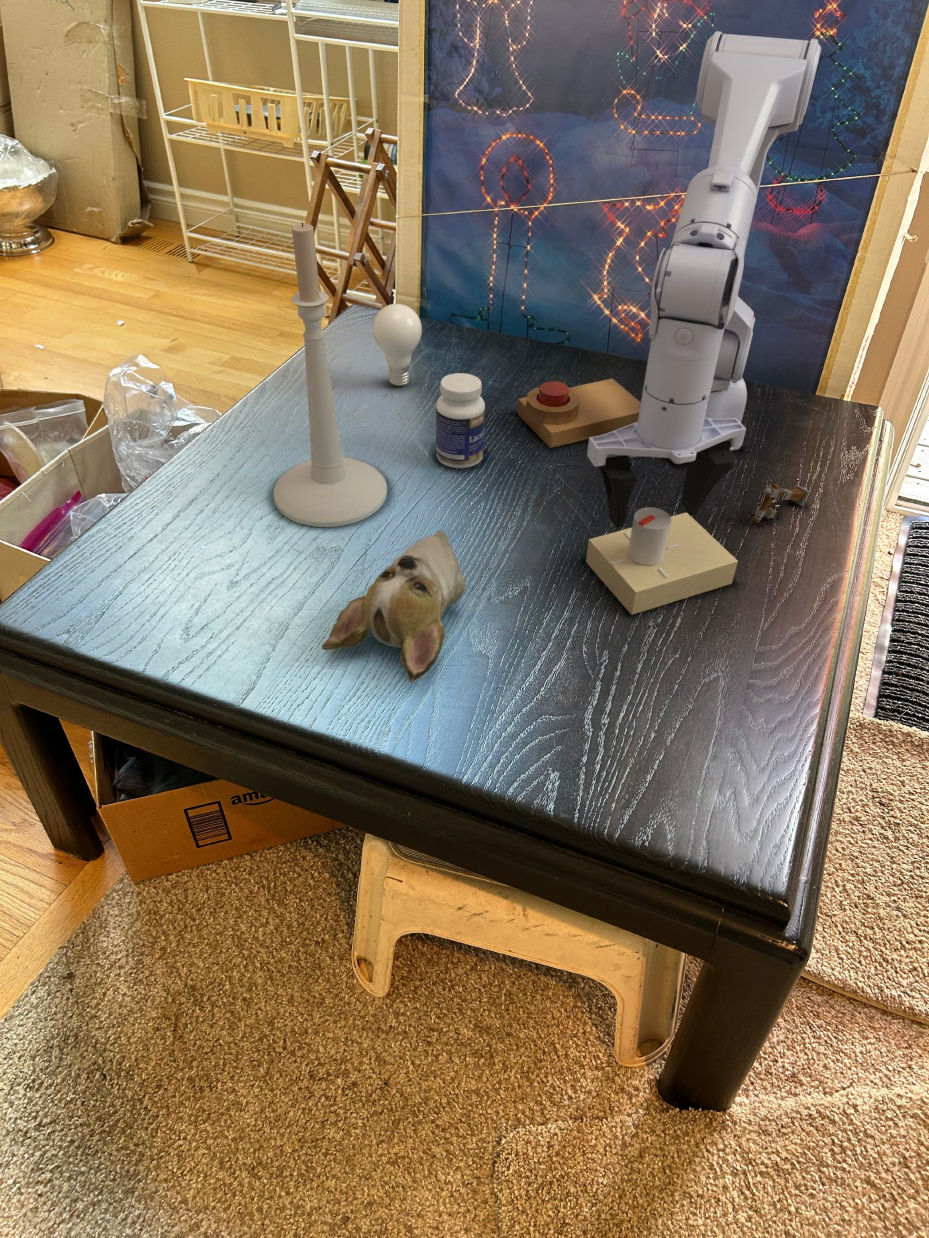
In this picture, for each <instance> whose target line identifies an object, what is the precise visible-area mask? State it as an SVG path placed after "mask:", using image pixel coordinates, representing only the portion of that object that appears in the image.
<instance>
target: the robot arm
mask: <svg viewBox="0 0 929 1238" xmlns="http://www.w3.org/2000/svg"><path fill="white" fill-rule="evenodd" d="M821 53H822V47H821V45H820V43H819V40H818V39H817V38H811V39H810V41H809V40H806V39H793V38H781V37H769V36H755V35H744V34H732V33H723V32H722V31H719V30H717V31H715V32H714V33H713V34H712V35H711V36H710V37H709V38H708V40H707V41H706V45H705V47H704V51H703V56H702V60H701V65H700V69H699V76H698V80H697V87H696V99H695V100H696V105H697V108H698V109H699V112H700V115H701V118H702V121H703V122H705V123H707V124H709V125H711V126H713V127H714V131H713V132H714V134H713V138H712V142H711V143H712V144H711V148H710V149H711V150H710V155H709V160H708V166H707V168H705V169H703V170H701V171H699V172H697V174H695V176H693V178H692V179H691V180H690V182H689V184H688V186H687V190H686V193H685V196H684V199H683V202H682V207H681V209H680V213H679V216H678V220H677V222H676V223H677V224H676V227H675V230H674V234H673V237H672V240H671V243H670V247H669V249H667V248H666V247H663V248H662V250H661V252H660V253H659V254H660V255H659V257H658V259H657V263H656V266H655V271H654V274H653V279H652V285H651V290H650V291H651V292H650V321H649V328H648V339H650V343H649V344H650V345H649V351H648V357H647V363H646V364H647V365H646V368H645V369H646V370H645V375H644V381H643V387H642V392H641V393H642V394H641V400H640V402H641V405H640V411H639V418H638V422H635V423H632V424H630V425H627V426H625V427H622V428H620V429H617V430H614V431H612V432H609V433H606V434H603V435H599V436H594V437H589V439H588V443H587V452H586V457H587V458H588V459H589V461H590V463H592V465H593V467H595V468H597V467H598V469H599V472H600V475H601V478H602V481H603V484H604V488H605V494H606V500H607V508H608V517H609V519H610V521H611V522H612V525H614V527H615V528H617V529H618V528H623V527H624V526H625V522H626V519H627V513H628V512H627V511H628V506H629V501H630V497H631V494H632V492H633V490H634V487H635V486H636V484H637V482H638V480H639V478H638V476H637V475H636V474H635V472H634V471H633V470H632V463H631V462H630V458H638V457H643V458H644V457H645V458H660V459H669V460H670V461H671V462H672V463H673V464H675V465H682V464H686V463H687V465H686V473H685V479H684V484H683V489H682V493H681V506H682V508H683V509H684V510H685V511H686V512H687V513H688V514H689V515H690V516H691V517H695V516H697V515H698V513H699V512H700V509H701V508H702V506H703V503H705V500H706V499H707V497H708V496H709V494H710V493H711V492H712V490H713V488H714V487H715V486H716V485H717V483H718V482H719V481H720V480H721V479H722V478H723V477H724V476H725V475H726V474H727V473H728V472H729V471H731V470H732V469H733V468H734V466H735V464H736V459H737V456H736V454H735V453H734V452H733V451H737V450H739V449H740V448H741V447H742V446H743V443H744V439H745V435H746V431H747V428H746V427H745V425H744V424H742V420H743V417H744V412H745V409H746V405H747V400H748V391H747V384H746V382H745V380H744V378H743V375H744V372H745V368H746V364H747V360H748V356H749V352H750V348H751V343H752V340H753V335H754V331H753V329H754V326H755V322H756V317H755V316H754V315H755V312H754V310H752V308H751V307H750V306H749V305H748V304H747V303H746V302H745V301H744V300H743V299H741V298H740V296H739V291H740V287H741V283H742V278H743V274H744V267H745V254H746V249H747V244H748V240H749V235H750V232H751V227H752V222H753V217H754V212H755V209H756V204H757V200H758V194H759V190H760V185H761V181H762V177H763V173H764V168H765V164H766V159H767V154H768V151H769V149H771V146H772V145H773V143H774V142H775V140H776V139H777V137H778V136H779V135H784V134H788V133H792V132H796V131H798V129H799V126H800V125H802V124H803V120H804V116H805V115H806V113H807V109H808V105H809V101H810V98H811V93H812V89H813V85H814V81H815V78H816V73H817V70H818V69H817V68H818V63H819V60H820V55H821Z"/></svg>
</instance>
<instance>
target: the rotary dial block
mask: <svg viewBox="0 0 929 1238" xmlns="http://www.w3.org/2000/svg"><path fill="white" fill-rule="evenodd" d="M670 517H671V526H670V530H669V535H668V540H667V545H666V550H665V554H664V559H663V560H662V561H661V562H660V563H658V564H656V565H650V566H647V565H641V564H638V563H636V562H634V561H633V560H631V558H630V557H629V555H628V548H629V542H630V537H631V531H632V527H629V528H625V529H621V530H618V531H614V532H610V533H607V534H603V535H600V536H596V537H593V538H589V539H588V543H587V552H586V557H585V558H586V560H585V562H586V564H587V565H588V566H589V568H591V570H592V571H593V572H594V573H595V574H596V576H597V577H598V578H599V579H600V580H601V581H602V582H603V584H604V585H605V586H606V587H607V588H608V589H609V590H610V592H611V593H612V594H613V595H614V596H615V597H616V599H617V600H618V601H619V602H620V603H621V604H622V606H623V607H624V608H625V609H626V610H627V612H628V614H630V615H631V616H632V615H636V614H639V613H642V612H645V611H649V610H653V609H655V608H658V607H660V606H665V605H668V604H671V603H674V602H678V601H680V600H684V599H688V598H691V597H693V596H697V595H700V594H703V593H707V592H710V591H712V590H717V589H719V588H723V587H725V586H729V585H732V584H733V580H734V578H735V573H736V571H737V566H738V563H739V560H738V559H737V558H735V556H734V555H732V553H730V551H728V550H727V549H726V548H725V547H724V546H723V545H722V544H721V543H720V542H719V541H718V540H716V539H715V538H714V536H712V535H711V534H710V533H709V532H708V531H707V530H706V529H705V528H704V527H703V526H702V525H701V524H700V523H698V521H696V520H695V519H694V518H693V516H690V515H689V514H688V513H687V511H686V512H683V513H679V514H675V515H672V516H670Z"/></svg>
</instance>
